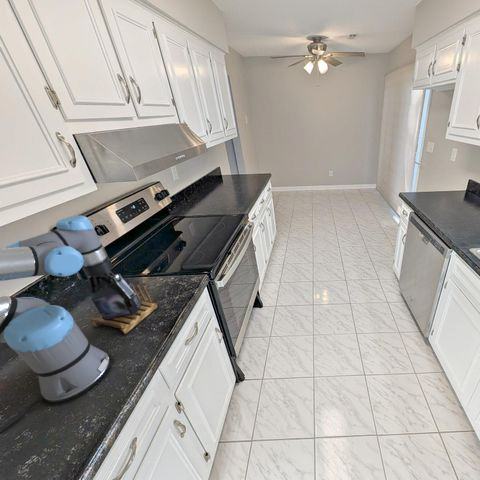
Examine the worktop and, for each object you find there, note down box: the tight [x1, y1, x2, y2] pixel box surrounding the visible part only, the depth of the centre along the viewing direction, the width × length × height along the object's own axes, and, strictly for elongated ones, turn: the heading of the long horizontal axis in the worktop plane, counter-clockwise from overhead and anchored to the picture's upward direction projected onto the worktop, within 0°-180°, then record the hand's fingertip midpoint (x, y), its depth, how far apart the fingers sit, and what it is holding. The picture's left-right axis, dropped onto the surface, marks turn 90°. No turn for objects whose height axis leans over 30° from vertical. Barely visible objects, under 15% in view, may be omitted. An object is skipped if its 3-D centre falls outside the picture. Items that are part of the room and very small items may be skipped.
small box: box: [91, 282, 142, 320], centre depth 93 cm, size 11×6×10 cm, turn 105°
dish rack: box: [89, 283, 158, 335], centre depth 94 cm, size 14×15×11 cm
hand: (122, 309), depth 95 cm, fingers closed on small box, 12 cm apart
